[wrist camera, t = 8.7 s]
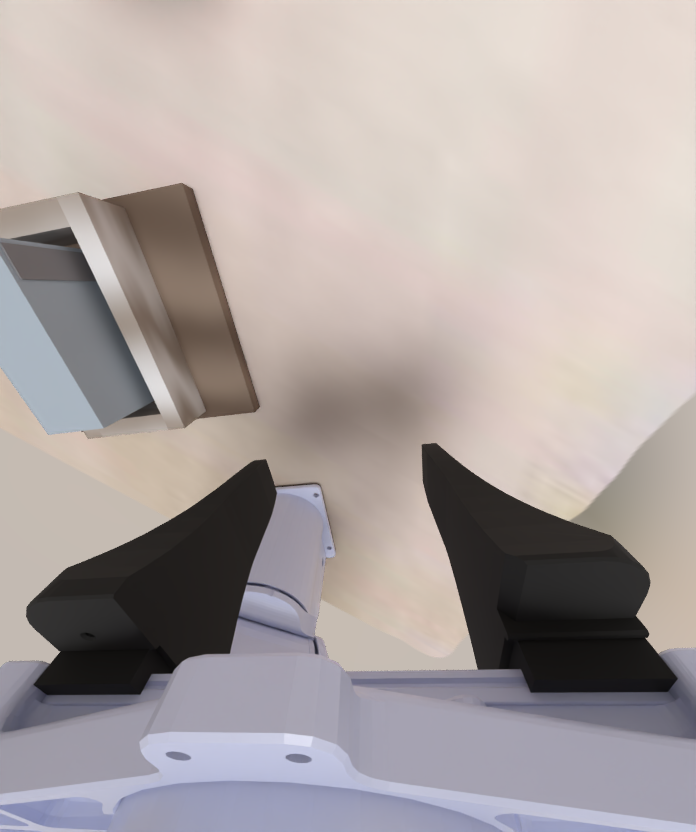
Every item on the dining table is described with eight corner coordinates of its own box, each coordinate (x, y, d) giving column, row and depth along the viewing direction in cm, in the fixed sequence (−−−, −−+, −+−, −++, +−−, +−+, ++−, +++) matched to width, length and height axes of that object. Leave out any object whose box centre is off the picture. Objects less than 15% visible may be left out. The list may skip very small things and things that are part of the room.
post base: (259, 406, 22) (240, 429, 18) (92, 426, 23) (45, 450, 20) (192, 188, 16) (144, 161, 12) (-26, 234, 17) (-122, 220, 14)
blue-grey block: (173, 390, 20) (105, 428, 15) (129, 396, 21) (46, 434, 15) (113, 253, 16) (-10, 235, 11) (59, 263, 17) (-84, 251, 11)
